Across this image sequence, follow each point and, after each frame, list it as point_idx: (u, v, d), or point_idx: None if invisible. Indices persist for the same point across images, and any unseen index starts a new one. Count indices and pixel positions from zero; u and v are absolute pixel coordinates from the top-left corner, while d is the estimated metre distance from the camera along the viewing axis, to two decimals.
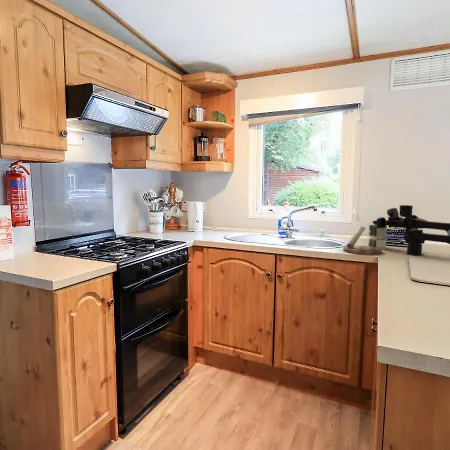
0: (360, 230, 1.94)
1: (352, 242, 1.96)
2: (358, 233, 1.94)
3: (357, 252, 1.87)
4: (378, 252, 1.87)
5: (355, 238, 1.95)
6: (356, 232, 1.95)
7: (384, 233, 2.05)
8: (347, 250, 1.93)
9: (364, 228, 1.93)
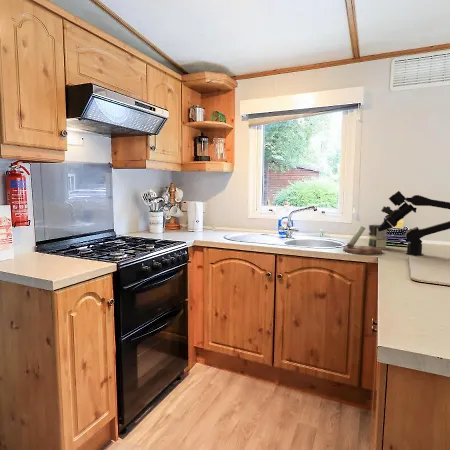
0: (360, 230, 1.94)
1: (352, 242, 1.96)
2: (358, 233, 1.94)
3: (357, 252, 1.87)
4: (378, 252, 1.87)
5: (355, 238, 1.95)
6: (356, 232, 1.95)
7: (384, 233, 2.05)
8: (347, 250, 1.93)
9: (364, 228, 1.93)
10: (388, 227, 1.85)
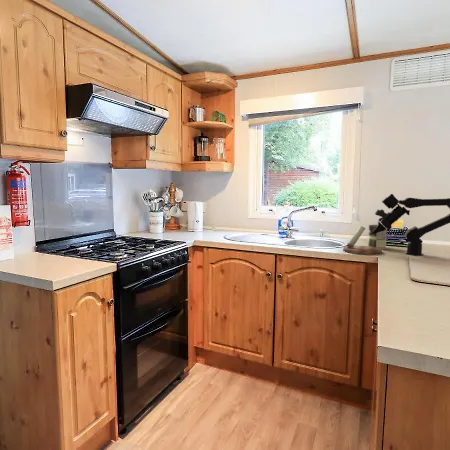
0: (360, 230, 1.94)
1: (352, 242, 1.96)
2: (358, 233, 1.94)
3: (357, 252, 1.87)
4: (378, 252, 1.87)
5: (355, 238, 1.95)
6: (356, 232, 1.95)
7: (384, 233, 2.05)
8: (347, 250, 1.93)
9: (364, 228, 1.93)
10: (382, 229, 1.89)
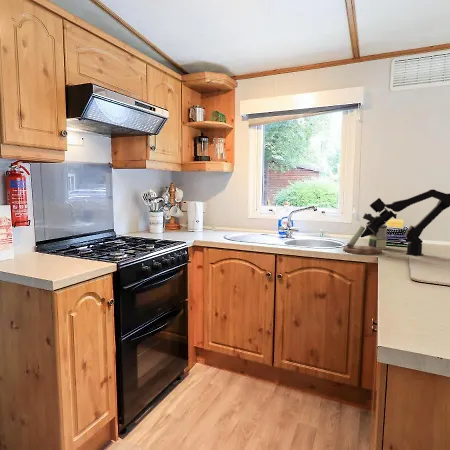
0: (360, 230, 1.94)
1: (352, 242, 1.96)
2: (358, 233, 1.95)
3: (357, 252, 1.87)
4: (378, 252, 1.87)
5: (355, 238, 1.95)
6: (356, 232, 1.95)
7: (384, 233, 2.05)
8: (347, 250, 1.93)
9: (364, 228, 1.93)
10: (370, 233, 1.92)
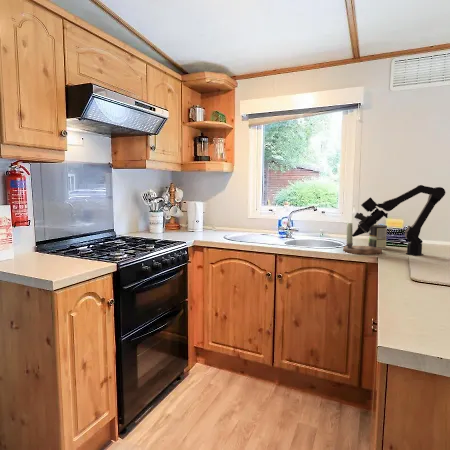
0: (349, 227, 1.96)
1: (349, 241, 1.97)
2: (349, 231, 1.96)
3: (357, 252, 1.87)
4: (378, 252, 1.87)
5: (349, 236, 1.96)
6: (347, 231, 1.97)
7: (384, 233, 2.05)
8: (347, 250, 1.93)
9: (351, 224, 1.96)
10: (361, 232, 1.93)
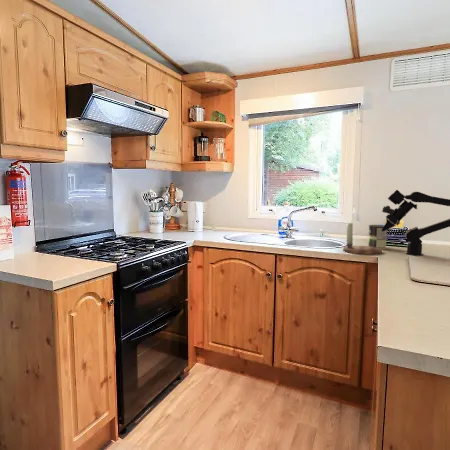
0: (349, 227, 1.96)
1: (349, 241, 1.97)
2: (349, 231, 1.96)
3: (357, 252, 1.87)
4: (378, 252, 1.87)
5: (349, 236, 1.96)
6: (347, 231, 1.97)
7: (384, 233, 2.05)
8: (347, 250, 1.93)
9: (351, 224, 1.96)
10: (390, 226, 1.88)
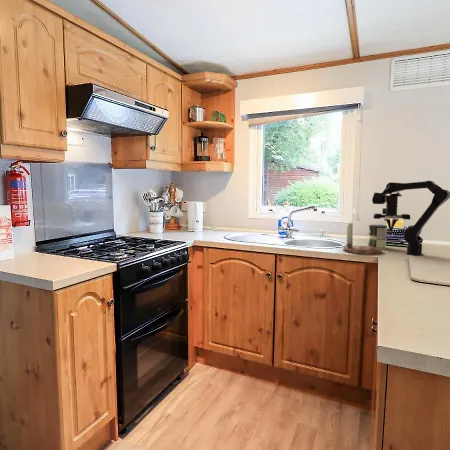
0: (349, 227, 1.96)
1: (349, 241, 1.97)
2: (349, 231, 1.96)
3: (357, 252, 1.87)
4: (378, 252, 1.87)
5: (349, 236, 1.96)
6: (347, 231, 1.97)
7: (384, 233, 2.05)
8: (347, 250, 1.93)
9: (351, 224, 1.96)
10: None
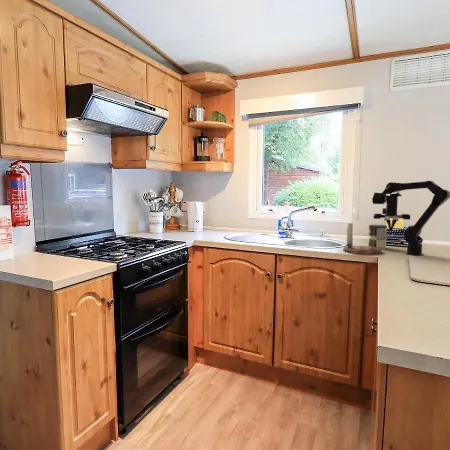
0: (349, 227, 1.96)
1: (349, 241, 1.97)
2: (349, 231, 1.96)
3: (357, 252, 1.87)
4: (378, 252, 1.87)
5: (349, 236, 1.96)
6: (347, 231, 1.97)
7: (384, 233, 2.05)
8: (347, 250, 1.93)
9: (351, 224, 1.96)
10: None
